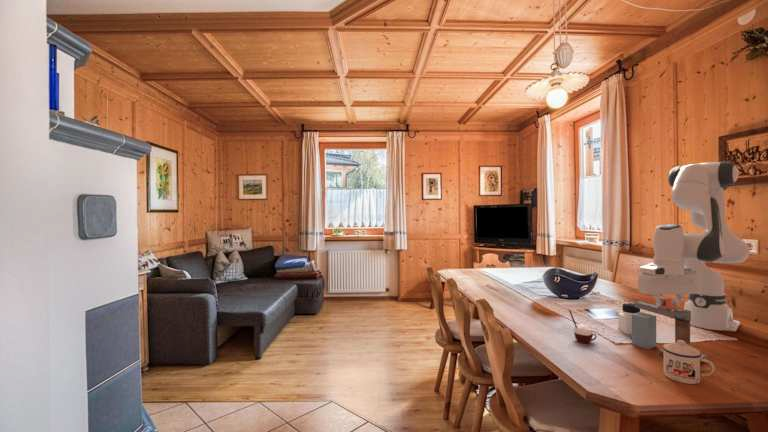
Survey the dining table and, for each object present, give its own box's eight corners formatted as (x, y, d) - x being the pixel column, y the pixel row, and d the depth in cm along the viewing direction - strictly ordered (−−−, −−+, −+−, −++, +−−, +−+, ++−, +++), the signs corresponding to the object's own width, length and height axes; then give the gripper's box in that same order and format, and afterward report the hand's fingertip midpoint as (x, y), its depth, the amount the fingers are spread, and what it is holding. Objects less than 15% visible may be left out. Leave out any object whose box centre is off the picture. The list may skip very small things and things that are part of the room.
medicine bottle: (645, 335, 141) (645, 306, 141) (625, 334, 143) (625, 305, 142) (636, 329, 148) (636, 301, 148) (617, 328, 150) (617, 301, 149)
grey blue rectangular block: (639, 341, 135) (639, 311, 135) (656, 346, 130) (656, 315, 130) (631, 344, 133) (631, 314, 133) (648, 349, 128) (648, 318, 128)
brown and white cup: (597, 342, 136) (598, 312, 135) (593, 347, 131) (594, 316, 131) (570, 336, 142) (572, 307, 142) (566, 339, 138) (567, 310, 137)
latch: (641, 306, 137) (641, 291, 136) (694, 320, 119) (694, 303, 119) (633, 307, 135) (633, 292, 135) (685, 321, 118) (685, 304, 118)
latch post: (672, 349, 128) (672, 313, 127) (707, 359, 119) (707, 321, 119) (658, 354, 123) (658, 318, 123) (693, 366, 114) (693, 326, 114)
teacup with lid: (661, 378, 107) (661, 341, 107) (663, 367, 114) (663, 333, 113) (714, 391, 99) (715, 351, 98) (714, 379, 105) (714, 342, 105)
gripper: (688, 266, 129) (688, 303, 129) (634, 267, 129) (634, 303, 129) (704, 269, 123) (704, 308, 123) (648, 270, 122) (647, 308, 123)
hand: (668, 305), depth 126 cm, fingers open, 5 cm apart
